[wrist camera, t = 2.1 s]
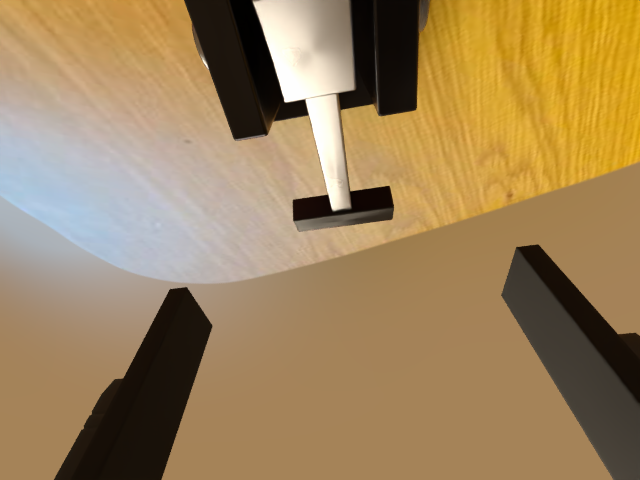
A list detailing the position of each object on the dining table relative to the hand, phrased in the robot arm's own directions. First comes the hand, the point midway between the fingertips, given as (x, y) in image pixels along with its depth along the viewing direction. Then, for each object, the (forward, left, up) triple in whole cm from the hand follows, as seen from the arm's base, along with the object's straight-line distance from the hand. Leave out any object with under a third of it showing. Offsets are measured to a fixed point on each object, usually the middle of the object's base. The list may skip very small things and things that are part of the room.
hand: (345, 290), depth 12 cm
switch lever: (0, -5, -5) cm, 7 cm away
